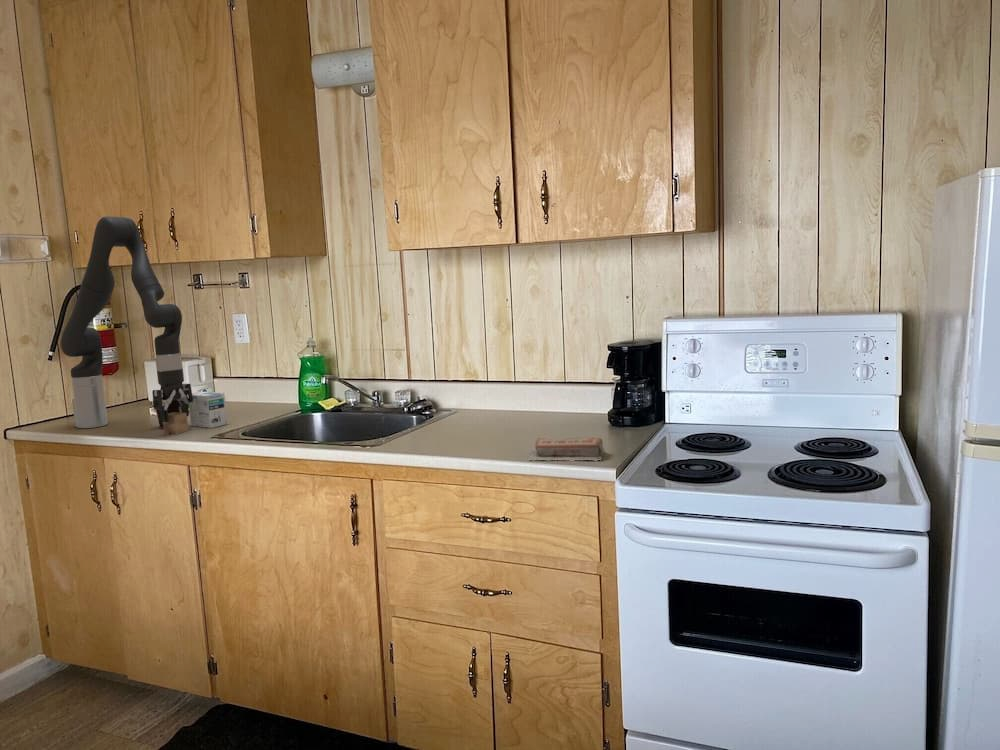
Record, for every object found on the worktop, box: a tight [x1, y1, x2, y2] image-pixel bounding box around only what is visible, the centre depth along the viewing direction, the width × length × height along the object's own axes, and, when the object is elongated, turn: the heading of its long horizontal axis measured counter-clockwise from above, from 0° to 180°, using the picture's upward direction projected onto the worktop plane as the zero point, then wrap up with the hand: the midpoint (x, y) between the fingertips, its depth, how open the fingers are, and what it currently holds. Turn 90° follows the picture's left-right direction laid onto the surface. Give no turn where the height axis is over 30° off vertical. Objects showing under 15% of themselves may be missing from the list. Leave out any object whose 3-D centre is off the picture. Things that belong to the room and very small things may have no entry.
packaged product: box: [528, 436, 605, 460], centre depth 188 cm, size 18×5×10 cm
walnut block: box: [162, 412, 189, 435], centre depth 241 cm, size 5×5×6 cm
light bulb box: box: [188, 391, 228, 429], centre depth 251 cm, size 11×7×11 cm, turn 58°
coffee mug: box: [155, 399, 181, 429], centre depth 253 cm, size 12×9×10 cm
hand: (175, 419), depth 241 cm, fingers open, 8 cm apart
